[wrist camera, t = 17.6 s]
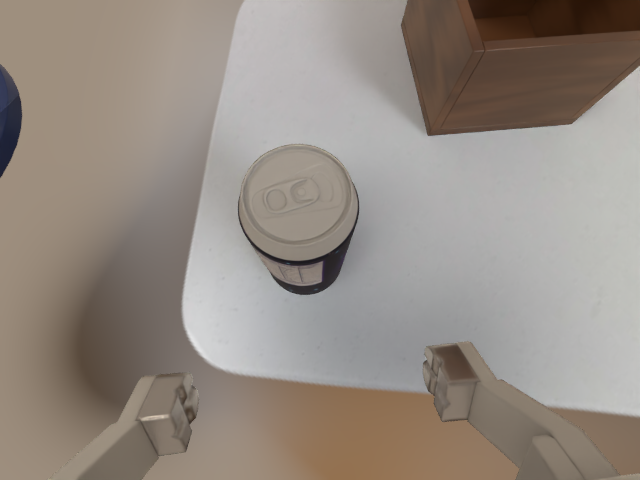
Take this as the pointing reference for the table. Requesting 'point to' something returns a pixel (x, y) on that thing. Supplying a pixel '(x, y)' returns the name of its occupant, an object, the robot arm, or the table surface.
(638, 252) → the table surface
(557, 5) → the chest
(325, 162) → the beverage can
